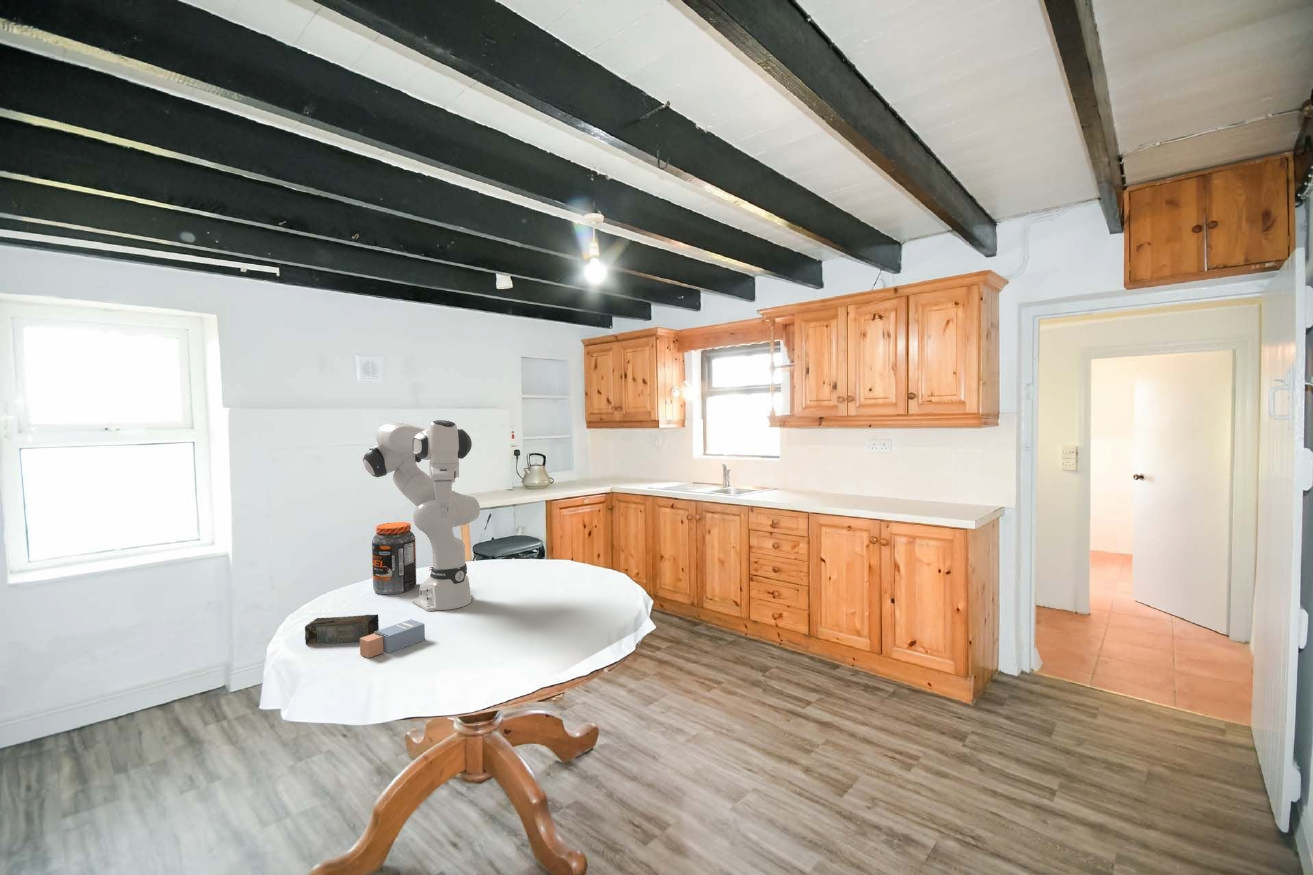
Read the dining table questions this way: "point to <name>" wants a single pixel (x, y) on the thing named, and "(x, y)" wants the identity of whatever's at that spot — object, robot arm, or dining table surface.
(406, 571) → the supplement tub
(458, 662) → the dining table surface
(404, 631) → the double-striped slate block
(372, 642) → the stub
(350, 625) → the beverage carton
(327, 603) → the dining table surface
